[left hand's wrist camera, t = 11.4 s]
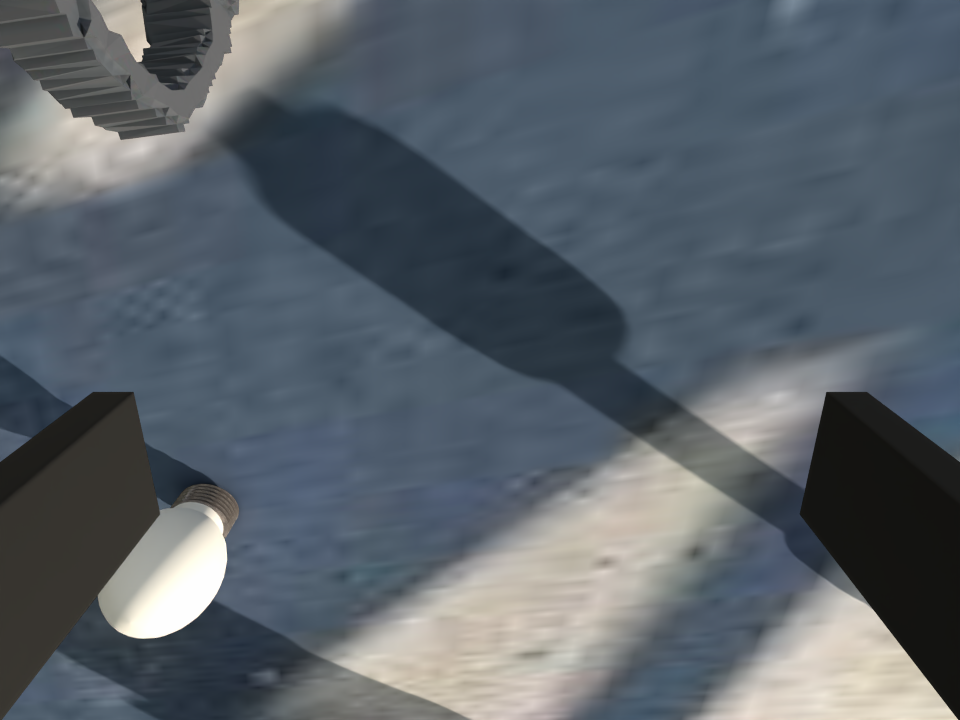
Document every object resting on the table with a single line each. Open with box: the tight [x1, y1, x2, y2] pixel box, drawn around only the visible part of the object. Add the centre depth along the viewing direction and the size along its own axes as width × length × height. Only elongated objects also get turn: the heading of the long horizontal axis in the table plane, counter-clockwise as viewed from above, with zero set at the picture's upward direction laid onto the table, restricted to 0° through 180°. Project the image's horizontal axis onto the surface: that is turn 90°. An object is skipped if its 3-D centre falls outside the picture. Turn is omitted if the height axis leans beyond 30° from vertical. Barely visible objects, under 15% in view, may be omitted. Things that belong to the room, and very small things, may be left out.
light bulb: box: [98, 484, 239, 639], centre depth 41 cm, size 7×7×11 cm
